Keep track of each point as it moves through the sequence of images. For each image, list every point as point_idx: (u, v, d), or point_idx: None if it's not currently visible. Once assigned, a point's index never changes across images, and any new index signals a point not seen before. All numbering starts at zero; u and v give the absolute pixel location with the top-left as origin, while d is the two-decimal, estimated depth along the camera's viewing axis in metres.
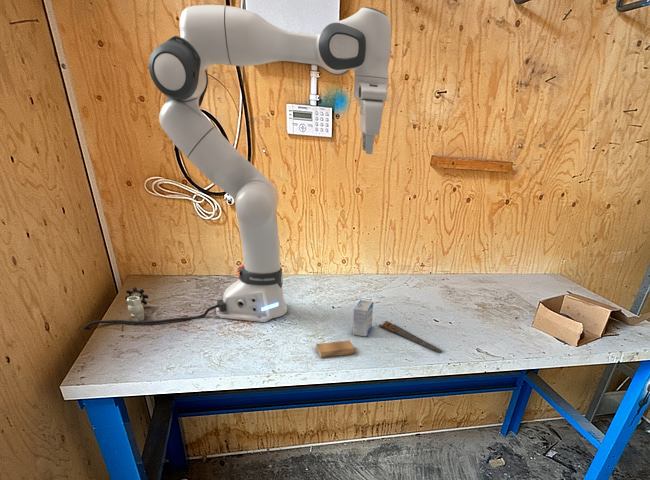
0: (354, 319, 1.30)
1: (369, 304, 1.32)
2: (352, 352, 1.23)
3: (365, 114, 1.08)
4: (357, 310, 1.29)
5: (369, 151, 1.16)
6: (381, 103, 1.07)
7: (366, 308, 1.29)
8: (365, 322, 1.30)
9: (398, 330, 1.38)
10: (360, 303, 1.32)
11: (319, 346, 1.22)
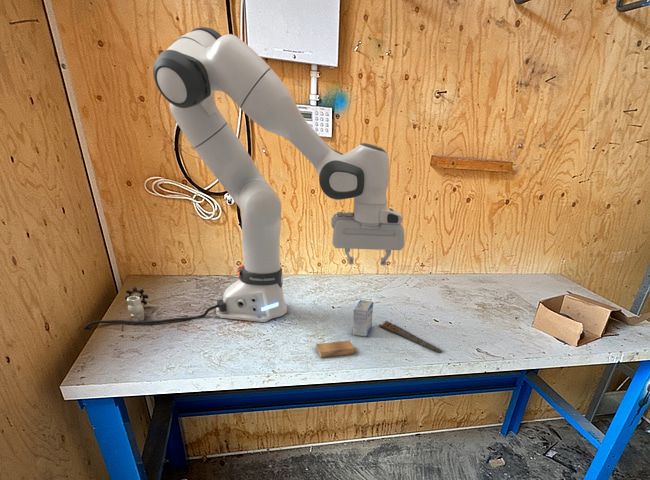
0: (354, 319, 1.30)
1: (369, 304, 1.32)
2: (352, 352, 1.23)
3: (403, 235, 1.20)
4: (357, 310, 1.29)
5: (385, 262, 1.25)
6: None
7: (366, 308, 1.29)
8: (365, 322, 1.30)
9: (398, 330, 1.38)
10: (360, 303, 1.32)
11: (319, 346, 1.22)
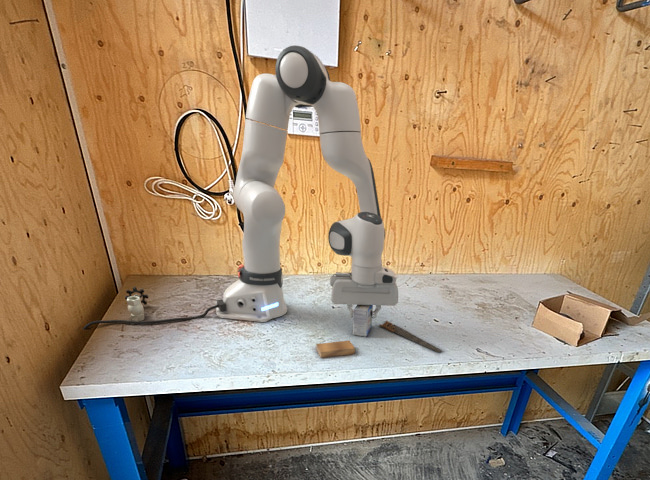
0: (354, 319, 1.30)
1: None
2: (352, 352, 1.23)
3: (397, 293, 1.28)
4: (357, 310, 1.29)
5: None
6: None
7: (366, 308, 1.29)
8: (365, 322, 1.30)
9: (398, 330, 1.38)
10: None
11: (319, 346, 1.22)
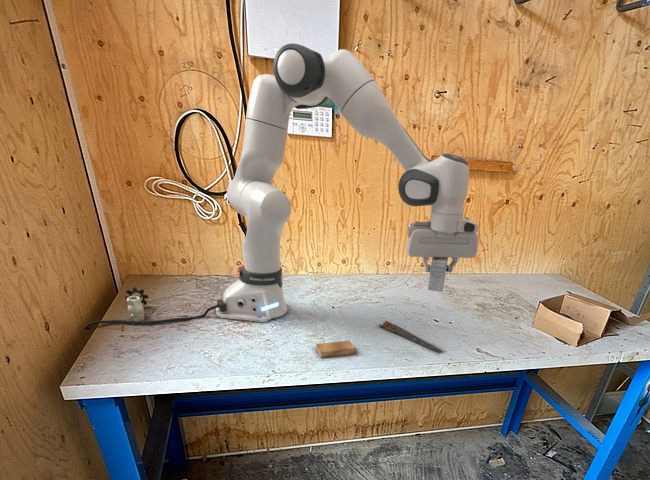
0: (431, 273, 1.24)
1: (445, 257, 1.25)
2: (352, 352, 1.23)
3: (477, 243, 1.22)
4: (435, 262, 1.22)
5: None
6: None
7: (444, 260, 1.22)
8: (442, 275, 1.23)
9: (398, 330, 1.38)
10: None
11: (319, 346, 1.22)
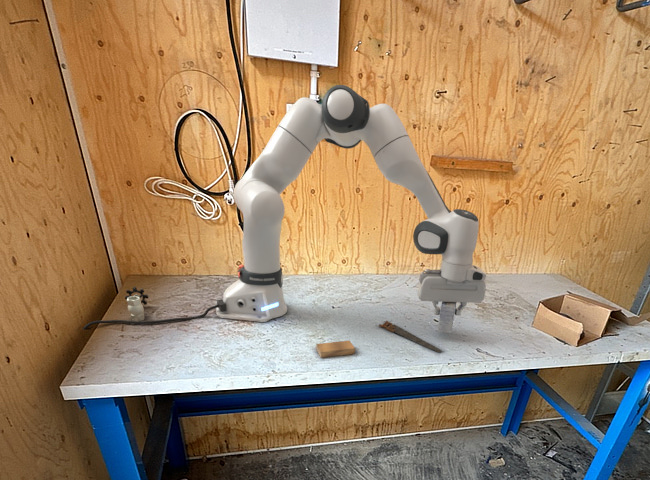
0: (440, 316, 1.31)
1: None
2: (352, 352, 1.23)
3: None
4: (444, 307, 1.29)
5: None
6: None
7: (453, 305, 1.30)
8: (451, 319, 1.31)
9: (398, 330, 1.38)
10: None
11: (319, 346, 1.22)
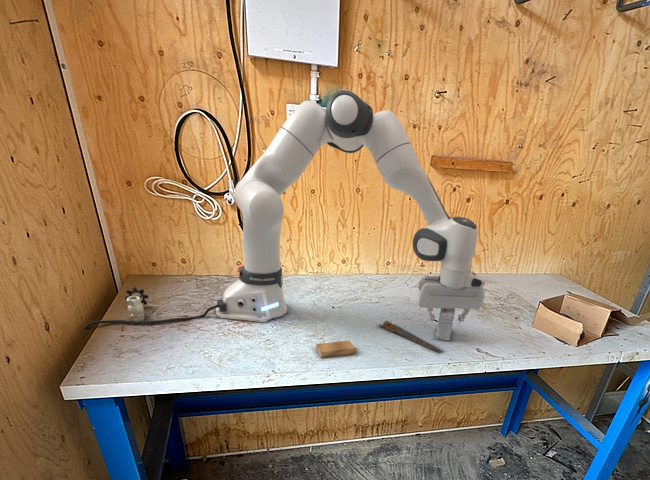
0: (439, 324, 1.32)
1: (452, 309, 1.34)
2: (352, 352, 1.23)
3: (483, 296, 1.30)
4: (443, 315, 1.31)
5: None
6: None
7: (451, 313, 1.31)
8: (450, 327, 1.32)
9: (398, 330, 1.38)
10: (443, 308, 1.34)
11: (319, 346, 1.22)
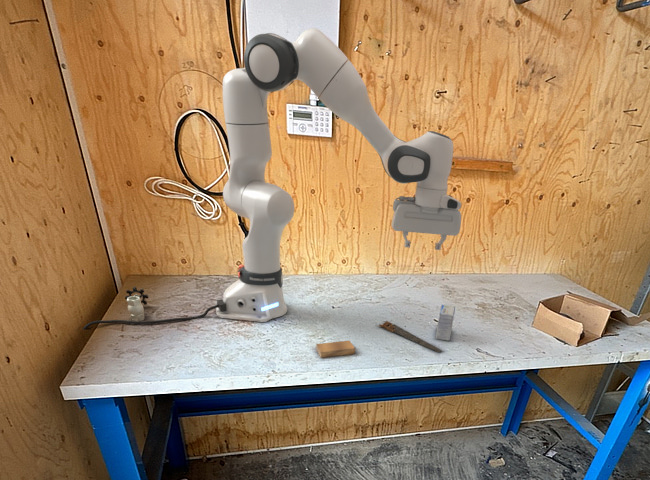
0: (439, 324, 1.32)
1: (452, 309, 1.34)
2: (352, 352, 1.23)
3: (460, 221, 1.26)
4: (443, 315, 1.31)
5: None
6: None
7: (451, 313, 1.31)
8: (450, 327, 1.32)
9: (398, 330, 1.38)
10: (443, 308, 1.34)
11: (319, 346, 1.22)
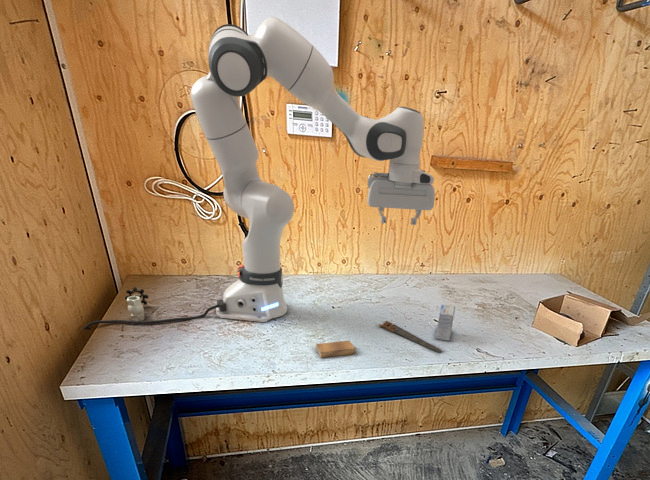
0: (439, 324, 1.32)
1: (452, 309, 1.34)
2: (352, 352, 1.23)
3: (434, 195, 1.29)
4: (443, 315, 1.31)
5: None
6: None
7: (451, 313, 1.31)
8: (450, 327, 1.32)
9: (398, 330, 1.38)
10: (443, 308, 1.34)
11: (319, 346, 1.22)
